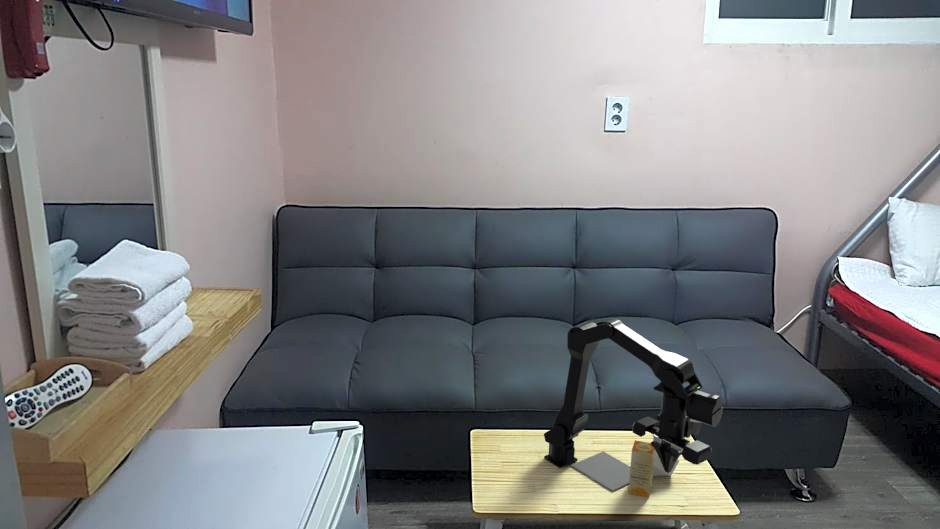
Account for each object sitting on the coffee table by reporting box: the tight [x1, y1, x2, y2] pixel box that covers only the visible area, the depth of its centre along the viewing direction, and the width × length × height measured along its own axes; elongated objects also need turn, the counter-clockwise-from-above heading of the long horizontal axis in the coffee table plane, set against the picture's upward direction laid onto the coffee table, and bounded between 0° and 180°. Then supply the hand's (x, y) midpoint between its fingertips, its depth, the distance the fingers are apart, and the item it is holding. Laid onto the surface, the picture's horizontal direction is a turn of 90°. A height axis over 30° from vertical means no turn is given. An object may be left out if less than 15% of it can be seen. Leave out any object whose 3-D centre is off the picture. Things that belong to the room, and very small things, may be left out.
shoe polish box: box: [628, 439, 655, 499], centre depth 174 cm, size 5×5×12 cm
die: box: [653, 450, 680, 477], centre depth 183 cm, size 8×9×10 cm
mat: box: [570, 451, 631, 493], centre depth 184 cm, size 14×12×1 cm
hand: (667, 471), depth 168 cm, fingers closed
